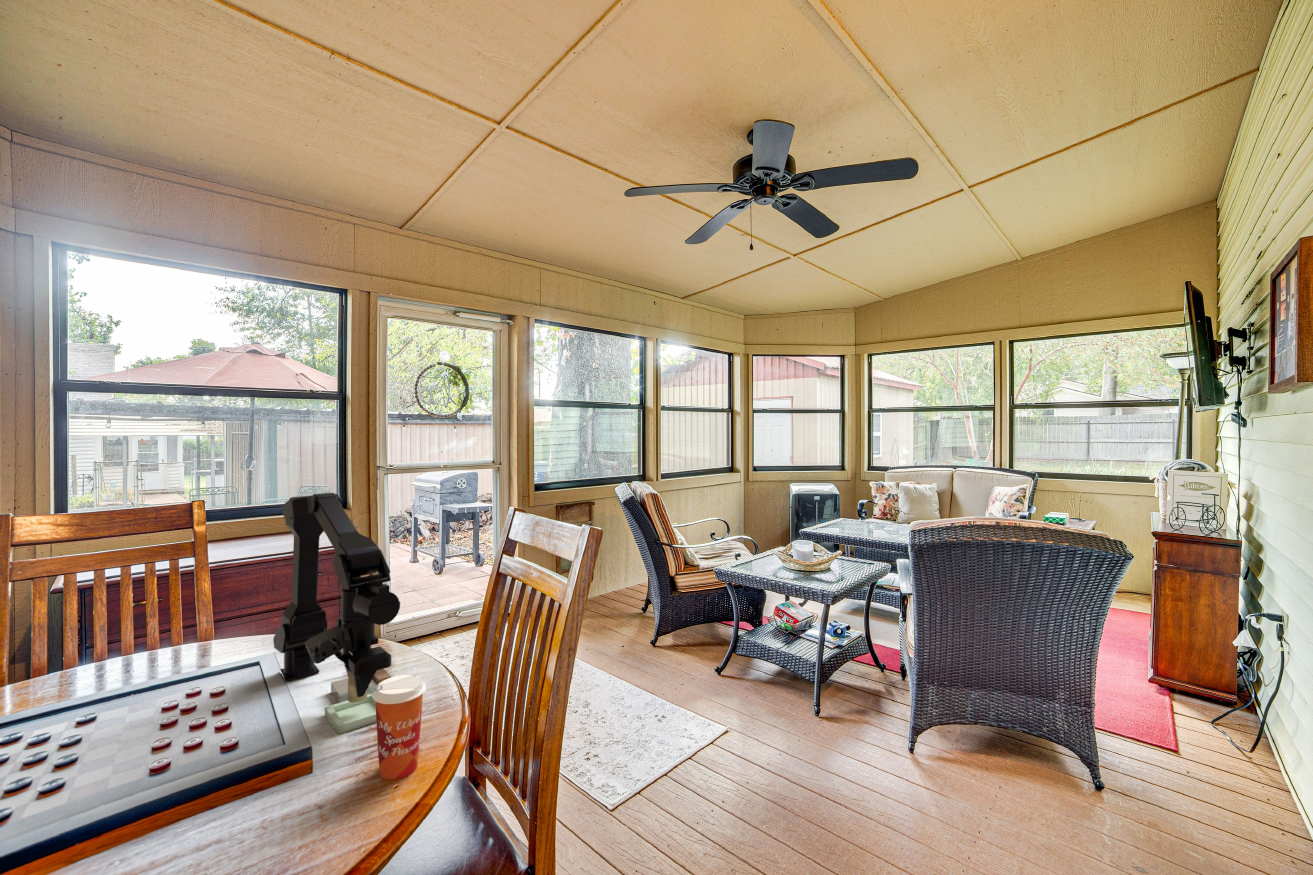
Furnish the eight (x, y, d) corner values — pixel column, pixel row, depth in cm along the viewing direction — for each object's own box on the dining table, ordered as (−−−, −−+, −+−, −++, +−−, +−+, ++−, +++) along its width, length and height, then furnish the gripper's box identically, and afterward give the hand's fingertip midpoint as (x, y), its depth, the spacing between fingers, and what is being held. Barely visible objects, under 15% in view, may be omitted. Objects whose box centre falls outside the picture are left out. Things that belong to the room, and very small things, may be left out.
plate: (330, 694, 116) (331, 682, 116) (367, 684, 121) (367, 672, 121) (339, 707, 111) (339, 694, 111) (377, 696, 116) (377, 684, 116)
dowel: (345, 697, 107) (346, 666, 107) (364, 692, 109) (364, 662, 109) (350, 704, 105) (351, 672, 105) (369, 698, 107) (369, 667, 107)
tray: (324, 714, 107) (324, 707, 107) (375, 699, 114) (375, 692, 114) (338, 734, 101) (338, 726, 101) (390, 717, 107) (390, 709, 107)
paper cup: (372, 789, 86) (373, 699, 86) (371, 762, 93) (372, 678, 93) (427, 775, 90) (428, 689, 89) (423, 750, 97) (423, 669, 96)
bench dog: (366, 680, 122) (366, 666, 122) (378, 677, 123) (378, 663, 123) (378, 693, 116) (378, 679, 116) (391, 690, 118) (391, 676, 118)
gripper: (297, 608, 108) (297, 688, 108) (323, 636, 94) (322, 728, 95) (360, 596, 116) (360, 671, 116) (392, 621, 102) (391, 706, 103)
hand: (357, 692), depth 107 cm, fingers closed on dowel, 3 cm apart
